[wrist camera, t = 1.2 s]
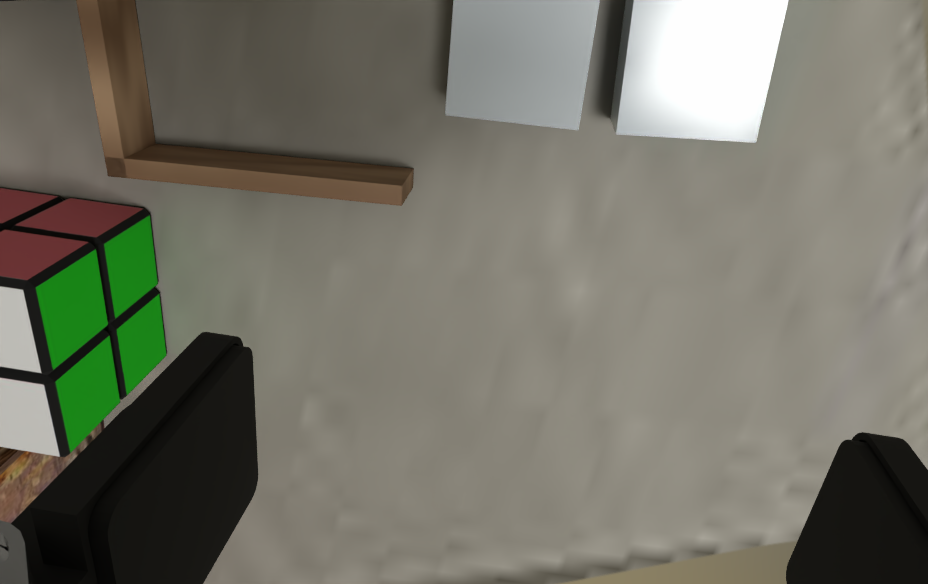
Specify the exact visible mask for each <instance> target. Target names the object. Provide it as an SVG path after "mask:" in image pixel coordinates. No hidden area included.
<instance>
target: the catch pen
mask: <svg viewBox="0 0 928 584" xmlns="http://www.w3.org/2000/svg"><path fill="white" fill-rule="evenodd" d="M76 2H77V7H78V13H79V18H80V24H81V29H82V35H83V40H84V46H85V51H86V57H87V62H88V68H89V73H90V79H91V84H92V90H93V95H94V101H95V107H96V112H97V118H98V123H99V129H100V134H101V140H102V145H103V151H104V156H105V162H106V167H107V173H108V176H111V177H121V178H131V179H141V180H151V181H161V182H171V183H181V184H191V185H201V186H211V187H221V188H231V189H241V190H251V191H261V192H270V193H280V194H290V195H300V196H310V197H320V198H330V199H340V200H350V201H360V202H370V203H380V204H390V205H400V206H402V204H403V203H404V201H405V199H406V198H407V196H408V194H409V193H410V191H411V190H412V188H413V170H414V169H412V168H402V167H392V166H381V165H371V164H361V163H350V162H340V161H329V160H319V159H309V158H298V157H288V156H277V155H267V154H257V153H246V152H236V151H225V150H215V149H205V148H194V147H184V146H173V145H163V144H156V142H155V136H154V129H153V122H152V115H151V108H150V101H149V94H148V87H147V80H146V73H145V67H144V60H143V53H142V46H141V39H140V32H139V25H138V18H137V11H136V4H135V0H76Z"/></svg>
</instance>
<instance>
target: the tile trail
mask: <svg viewBox="0 0 928 584" xmlns="http://www.w3.org/2000/svg"><path fill="white" fill-rule="evenodd" d="M787 4H788V0H626V1H625V9H624V17H623V25H622V32H621V40H620V48H619V56H618V64H617V71H616V79H615V87H614V95H613V102H612V110H611V118H610V119H611V122H612V125H613V127H614V130H615V133H616V134H620V135H636V136H653V137H670V138H687V139H704V140H721V141H738V142H754V143H756V140H757V135H758V131H759V127H760V122H761V118H762V114H763V109H764V105H765V100H766V96H767V92H768V87H769V83H770V79H771V74H772V70H773V66H774V61H775V57H776V52H777V48H778V44H779V39H780V35H781V31H782V26H783V22H784V18H785V13H786V9H787Z"/></svg>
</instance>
